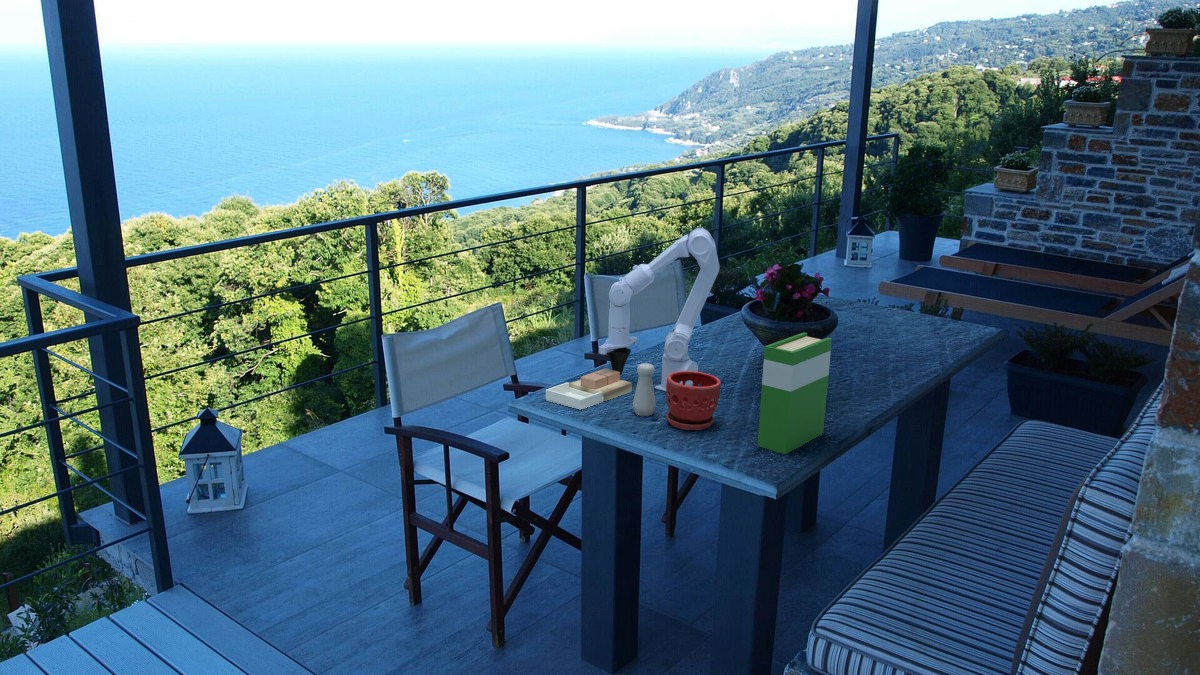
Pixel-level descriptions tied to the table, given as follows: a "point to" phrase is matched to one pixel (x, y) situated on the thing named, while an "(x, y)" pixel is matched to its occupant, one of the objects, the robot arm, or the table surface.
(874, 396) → the table surface
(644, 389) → the salt shaker
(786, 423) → the hardback book
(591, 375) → the tile front
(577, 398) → the box
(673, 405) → the plant pot
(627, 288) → the robot arm
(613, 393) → the board
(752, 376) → the table surface
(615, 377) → the tile rear
